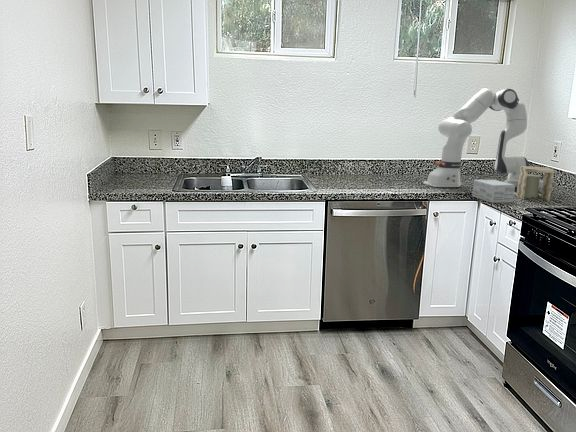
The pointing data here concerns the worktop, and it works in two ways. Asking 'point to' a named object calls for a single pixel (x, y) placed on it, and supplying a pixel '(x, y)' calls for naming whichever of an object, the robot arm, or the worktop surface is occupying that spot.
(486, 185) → the supplement box
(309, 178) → the worktop surface
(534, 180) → the can
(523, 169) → the tunnel
